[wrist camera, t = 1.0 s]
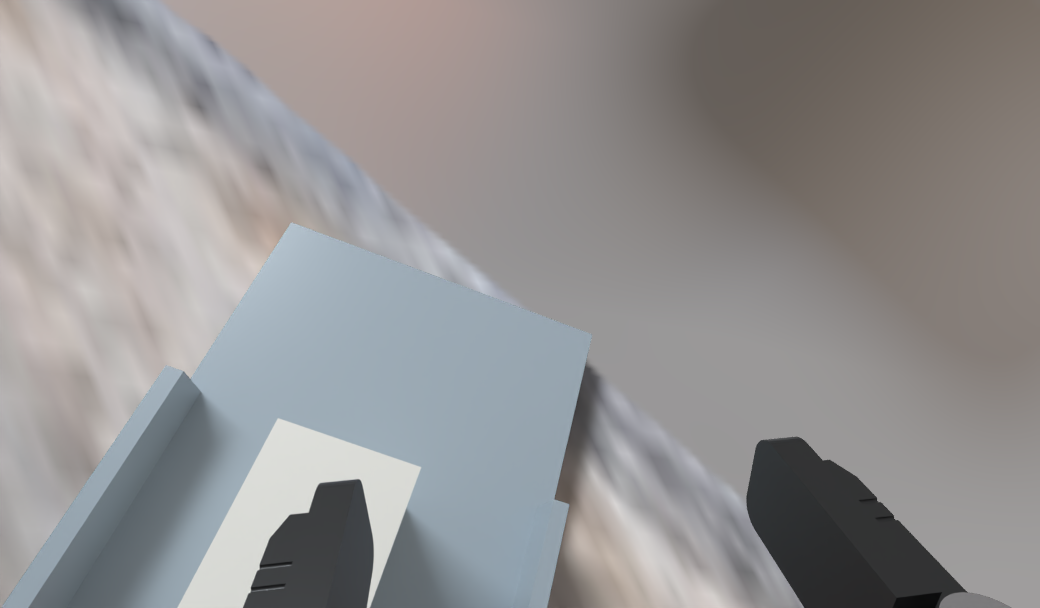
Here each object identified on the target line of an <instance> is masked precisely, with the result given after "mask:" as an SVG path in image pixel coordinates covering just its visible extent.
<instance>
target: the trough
mask: <svg viewBox="0 0 1040 608" xmlns="http://www.w3.org/2000/svg"><path fill="white" fill-rule="evenodd" d="M591 338H592V334H590V333H587V332H584V331H582V330H579V329H576V328H574V327H571V326H568V325H566V324H563V323H560V322H557V321H555V320H552V319H549V318H547V317H544V316H541V315H539V314H536V313H533V312H531V311H528V310H525V309H523V308H520V307H517V306H515V305H512V304H509V303H507V302H504V301H501V300H498V299H496V298H493V297H490V296H488V295H485V294H482V293H480V292H477V291H474V290H472V289H469V288H466V287H464V286H461V285H458V284H456V283H453V282H450V281H447V280H445V279H442V278H439V277H437V276H434V275H431V274H429V273H426V272H423V271H421V270H418V269H415V268H413V267H410V266H407V265H405V264H402V263H399V262H397V261H394V260H391V259H388V258H386V257H383V256H380V255H378V254H375V253H372V252H370V251H367V250H364V249H362V248H359V247H356V246H354V245H351V244H348V243H346V242H343V241H340V240H337V239H335V238H332V237H329V236H327V235H324V234H321V233H319V232H316V231H313V230H311V229H308V228H305V227H303V226H300V225H297V224H295V223H292V222H291V224H290V225H289V227H288V228H287V230H286V231H285V233H284V235H283V236H282V238H281V239H280V241H279V242H278V244H277V245H276V247H275V248H274V250H273V252H272V253H271V255H270V256H269V258H268V259H267V261H266V262H265V264H264V266H263V267H262V269H261V270H260V272H259V273H258V275H257V276H256V278H255V280H254V281H253V283H252V284H251V286H250V287H249V289H248V290H247V292H246V294H245V295H244V297H243V298H242V300H241V301H240V303H239V304H238V306H237V308H236V309H235V311H234V312H233V314H232V315H231V317H230V318H229V320H228V321H227V323H226V325H225V326H224V328H223V329H222V331H221V332H220V334H219V335H218V337H217V339H216V340H215V342H214V343H213V345H212V346H211V348H210V349H209V351H208V353H207V354H206V356H205V357H204V359H203V360H202V362H201V363H200V365H199V367H198V368H197V370H196V371H195V373H194V374H193V376H192V377H191V379H190V378H189V377H188V376H187V375H186V374H185V372H184V371H181V370H178V369H175V368H173V367H170V366H167V365H166V366H165V368H164V369H163V370H162V372H161V373H160V375H159V376H158V378H157V379H156V381H155V382H154V384H153V385H152V387H151V388H150V390H149V391H148V393H147V394H146V395H145V397H144V398H143V400H142V401H141V403H140V404H139V406H138V407H137V409H136V410H135V412H134V413H133V415H132V416H131V418H130V419H129V421H128V422H127V423H126V425H125V426H124V428H123V429H122V431H121V432H120V434H119V435H118V437H117V438H116V440H115V441H114V443H113V444H112V446H111V447H110V448H109V450H108V451H107V453H106V454H105V456H104V457H103V459H102V460H101V462H100V463H99V465H98V466H97V468H96V469H95V471H94V472H93V473H92V475H91V476H90V478H89V479H88V481H87V482H86V484H85V485H84V487H83V488H82V490H81V491H80V493H79V494H78V496H77V497H76V498H75V500H74V501H73V503H72V504H71V506H70V507H69V509H68V510H67V512H66V513H65V515H64V516H63V518H62V519H61V521H60V522H59V524H58V525H57V526H56V528H55V529H54V531H53V532H52V534H51V535H50V537H49V538H48V540H47V541H46V543H45V544H44V546H43V547H42V549H41V550H40V551H39V553H38V554H37V556H36V557H35V559H34V560H33V562H32V563H31V565H30V566H29V568H28V569H27V571H26V572H25V574H24V575H23V576H22V578H21V579H20V581H19V582H18V584H17V585H16V587H15V588H14V590H13V591H12V593H11V594H10V596H9V597H8V599H7V600H6V602H5V603H4V604H3V606H2V607H1V608H177V607H178V605H179V604H180V602H181V600H182V598H183V596H184V594H185V592H186V590H187V589H188V587H189V585H190V583H191V581H192V579H193V577H194V575H195V573H196V572H197V570H198V568H199V566H200V564H201V562H202V560H203V558H204V556H205V555H206V553H207V551H208V549H209V547H210V545H211V543H212V541H213V539H214V538H215V536H216V534H217V532H218V530H219V528H220V526H221V524H222V522H223V521H224V519H225V517H226V515H227V513H228V511H229V509H230V507H231V505H232V504H233V502H234V500H235V498H236V496H237V494H238V492H239V490H240V489H241V487H242V485H243V483H244V481H245V479H246V477H247V475H248V473H249V472H250V470H251V468H252V466H253V464H254V462H255V460H256V458H257V456H258V455H259V453H260V451H261V449H262V447H263V445H264V443H265V441H266V439H267V438H268V436H269V434H270V432H271V430H272V428H273V426H274V424H275V422H276V421H277V419H278V418H279V419H282V420H285V421H288V422H291V423H294V424H297V425H300V426H303V427H306V428H309V429H311V430H314V431H317V432H320V433H323V434H326V435H329V436H332V437H335V438H338V439H341V440H344V441H346V442H349V443H352V444H355V445H358V446H361V447H364V448H367V449H370V450H373V451H376V452H379V453H381V454H384V455H387V456H390V457H393V458H396V459H399V460H402V461H405V462H408V463H411V464H413V465H416V466H419V467H421V469H420V472H419V475H418V478H417V480H416V483H415V486H414V489H413V491H412V494H411V497H410V499H409V502H408V505H407V508H406V510H405V513H404V516H403V519H402V521H401V524H400V527H399V529H398V532H397V535H396V538H395V540H394V543H393V546H392V549H391V551H390V554H389V557H388V559H387V562H386V565H385V568H384V570H383V573H382V576H381V579H380V581H379V584H378V587H377V590H376V592H375V595H374V598H373V600H372V603H371V606H370V608H547V606H548V601H549V597H550V592H551V587H552V583H553V578H554V573H555V569H556V564H557V560H558V555H559V550H560V546H561V541H562V536H563V532H564V527H565V523H566V518H567V513H568V509H569V504H567V503H564V502H561V501H558V500H555V499H554V498H555V494H556V489H557V485H558V481H559V476H560V472H561V468H562V463H563V459H564V455H565V450H566V446H567V442H568V437H569V433H570V429H571V424H572V420H573V416H574V411H575V407H576V403H577V398H578V394H579V390H580V385H581V381H582V377H583V372H584V368H585V364H586V359H587V355H588V351H589V346H590V342H591Z"/></svg>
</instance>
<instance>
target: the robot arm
mask: <svg viewBox="0 0 1040 608" xmlns="http://www.w3.org/2000/svg"><path fill="white" fill-rule="evenodd" d="M747 510H748V514H749V518H750V520H751V523H752V525H753V527H754V529H755V531H756V532H757V534H758V535H759V537H760V538H761V540H762V542H763V543H764V545H765V546H766V548H767V549H768V551H769V553H770V554H771V556H772V557H773V559H774V560H775V562H776V564H777V565H778V567H779V568H780V570H781V572H782V573H783V575H784V576H785V578H786V579H787V581H788V583H789V584H790V586H791V587H792V589H793V590H794V592H795V594H796V595H797V597H798V598H799V600H800V602H801V603H802V605H803V606H804V608H1011V607H1009V606H1007V605H1006V604H1004V603H1002V602H999V601H997V600H994V599H992V598H990V597H986V596H983V595H980V594H974V593H968V592H967V591H965V589H963V588H962V586H961V585H960V584H959V583H958V582H957V581H956V580H955V579H954V578H953V577H952V576H951V575H950V574H949V573H948V572H947V571H946V570H945V569H944V568H943V567H942V566H941V565H940V563H939V562H938V561H937V560H936V559H935V558H934V557H933V556H932V555H931V554H930V553H929V552H928V551H927V550H926V549H925V548H924V547H923V546H922V545H921V544H920V543H919V542H918V540H917V539H915V537H914V536H913V535H912V534H911V533H909V531H908V530H907V529H906V528H905V527H904V526H903V525H902V524H901V523H900V522H899V521H898V520H895V519H894V515H893V514H892V513H891V512H890V511H889V510H888V509H887V508H886V507H885V506H884V505H883V504H882V503H881V502H878V501H877V498H876V496H875V495H874V494H872V492H871V491H870V490H869V489H868V488H867V487H866V486H865V485H864V484H863V483H862V482H861V481H860V480H859V479H858V478H857V477H856V476H855V475H853V474H851V473H850V472H848V471H847V470H845V469H843V468H842V467H840V466H839V465H837V464H836V463H834V462H832V461H831V460H824V461H823V460H822V459H821V458H820V457H819V456H818V455H817V454H816V453H815V451H814V450H813V449H812V448H811V447H810V446H809V445H808V444H807V443H806V442H805V441H804V440H803V439H801V438H799V437H789V438H779V439H769V440H761V441H760V442H759V443H758V444H757V446H756V450H755V455H754V460H753V465H752V471H751V476H750V482H749V486H748V492H747ZM373 562H374V544H373V535H372V530H371V525H370V520H369V515H368V510H367V505H366V500H365V495H364V490H363V486H362V482H361V480H360V479H354V480H344V481H334V482H324V483H319V485H318V486H317V488H316V491H315V494H314V497H313V500H312V503H311V506H310V509H309V513H301V514H291V515H289V516H288V517H287V519H286V520H285V521H284V522H283V523H282V524H281V526H280V527H279V528H278V529H277V530H276V531H275V533H274V534H273V535H272V536H271V537H270V539H269V541H268V544H267V546H266V549H265V552H264V554H263V557H262V559H261V562H260V565H259V566H260V568H259V570H257V572H256V575H255V578H254V580H253V583H252V585H251V592H250V593H248V596H247V598H246V601H245V603H244V606H243V608H367V603H368V597H369V590H370V584H371V578H372V572H373Z"/></svg>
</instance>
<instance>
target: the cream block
mask: <svg viewBox="0 0 1040 608" xmlns="http://www.w3.org/2000/svg"><path fill="white" fill-rule="evenodd" d="M420 469H421V467H419V466H416V465H413V464H411V463H408V462H405V461H402V460H399V459H396V458H393V457H390V456H387V455H384V454H381V453H379V452H376V451H373V450H370V449H367V448H364V447H361V446H358V445H355V444H352V443H349V442H346V441H344V440H341V439H338V438H335V437H332V436H329V435H326V434H323V433H320V432H317V431H314V430H311V429H309V428H306V427H303V426H300V425H297V424H294V423H291V422H288V421H285V420H282V419H279V418H278V419H277V421H276V422H275V424H274V426H273V428H272V430H271V432H270V434H269V436H268V438H267V439H266V441H265V443H264V445H263V447H262V449H261V451H260V453H259V455H258V456H257V458H256V460H255V462H254V464H253V466H252V468H251V470H250V472H249V473H248V475H247V477H246V479H245V481H244V483H243V485H242V487H241V489H240V490H239V492H238V494H237V496H236V498H235V500H234V502H233V504H232V505H231V507H230V509H229V511H228V513H227V515H226V517H225V519H224V521H223V522H222V524H221V526H220V528H219V530H218V532H217V534H216V536H215V538H214V539H213V541H212V543H211V545H210V547H209V549H208V551H207V553H206V555H205V556H204V558H203V560H202V562H201V564H200V566H199V568H198V570H197V572H196V573H195V575H194V577H193V579H192V581H191V583H190V585H189V587H188V589H187V590H186V592H185V594H184V596H183V598H182V600H181V602H180V604H179V605H178V607H177V608H243V606H244V603H245V601H246V598H247V596H248V593H250V592H251V585H252V583H253V580H254V578H255V575H256V572H257V570H259V568H260V566H259V565H260V562H261V559H262V557H263V554H264V552H265V549H266V546H267V544H268V541H269V539H270V537H271V536H272V535H273V534H274V533H275V531H276V530H277V529H278V528H279V527H280V526H281V524H282V523H283V522H284V521H285V520H286V519H287V517H288V516H289V515H291V514H301V513H309V509H310V506H311V503H312V500H313V497H314V494H315V491H316V488H317V486H318V485H319V483H324V482H334V481H344V480H354V479H360V480H361V482H362V486H363V490H364V495H365V500H366V505H367V510H368V515H369V520H370V525H371V530H372V535H373V544H374V562H373V572H372V578H371V584H370V590H369V597H368V603H367V608H370V606H371V603H372V600H373V598H374V595H375V592H376V590H377V587H378V584H379V581H380V579H381V576H382V573H383V570H384V568H385V565H386V562H387V559H388V557H389V554H390V551H391V549H392V546H393V543H394V540H395V538H396V535H397V532H398V529H399V527H400V524H401V521H402V519H403V516H404V513H405V510H406V508H407V505H408V502H409V499H410V497H411V494H412V491H413V489H414V486H415V483H416V480H417V478H418V475H419V472H420Z"/></svg>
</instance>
